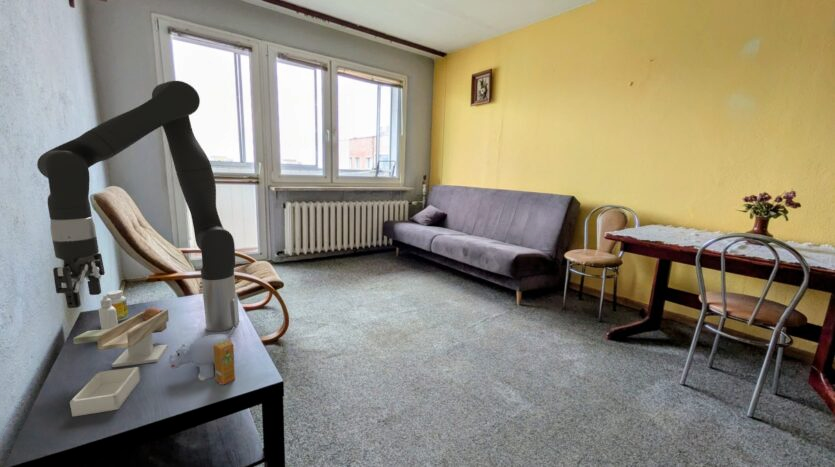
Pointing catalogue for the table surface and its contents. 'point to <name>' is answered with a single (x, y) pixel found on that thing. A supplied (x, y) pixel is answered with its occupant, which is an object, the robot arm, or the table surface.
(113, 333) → the tilting chute
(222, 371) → the supplement box
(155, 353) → the chute stand
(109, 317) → the eye dropper bottle
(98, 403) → the bin
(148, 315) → the ball
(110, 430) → the table surface
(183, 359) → the hippopotamus toy
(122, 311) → the supplement bottle
